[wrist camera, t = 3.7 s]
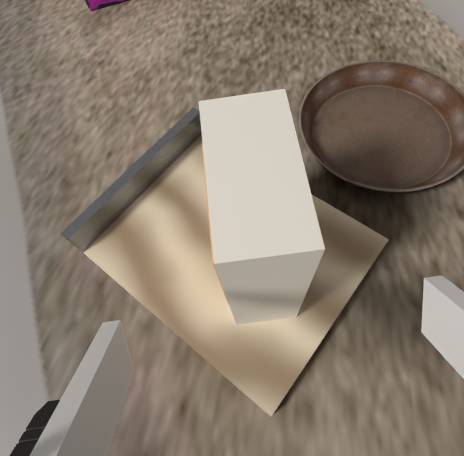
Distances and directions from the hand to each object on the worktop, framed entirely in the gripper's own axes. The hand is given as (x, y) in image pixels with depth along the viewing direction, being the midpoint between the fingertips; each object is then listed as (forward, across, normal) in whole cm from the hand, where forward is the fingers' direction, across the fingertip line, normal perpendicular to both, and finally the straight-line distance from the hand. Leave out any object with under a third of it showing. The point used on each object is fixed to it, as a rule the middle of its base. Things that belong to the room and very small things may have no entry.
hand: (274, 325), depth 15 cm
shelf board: (+19, +2, +4) cm, 19 cm away
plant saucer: (+26, -16, -4) cm, 31 cm away
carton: (+16, 0, +4) cm, 16 cm away
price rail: (+23, +10, -3) cm, 25 cm away
